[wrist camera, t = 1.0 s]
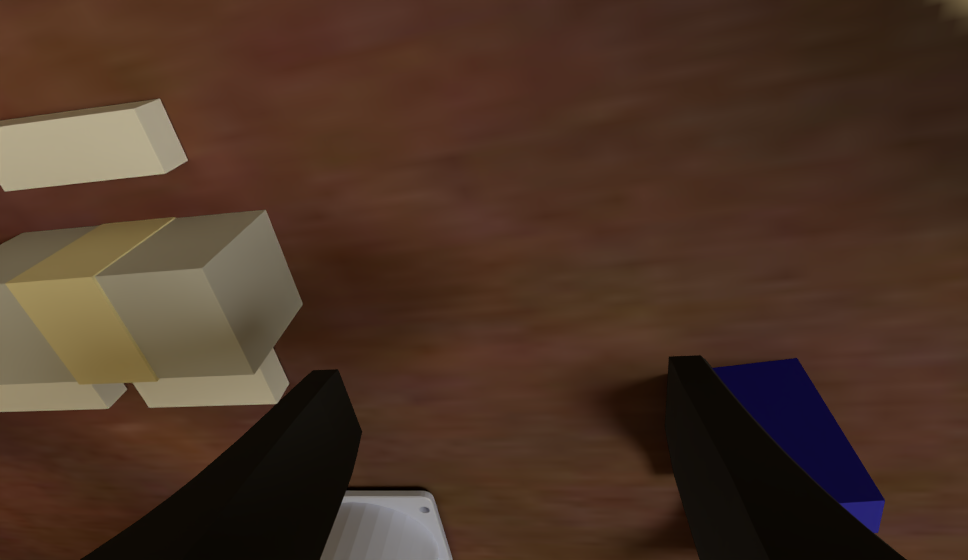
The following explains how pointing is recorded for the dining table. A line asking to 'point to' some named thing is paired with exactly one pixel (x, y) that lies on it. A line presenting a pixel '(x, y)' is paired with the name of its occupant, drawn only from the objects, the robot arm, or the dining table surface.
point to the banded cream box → (143, 300)
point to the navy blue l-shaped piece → (806, 432)
